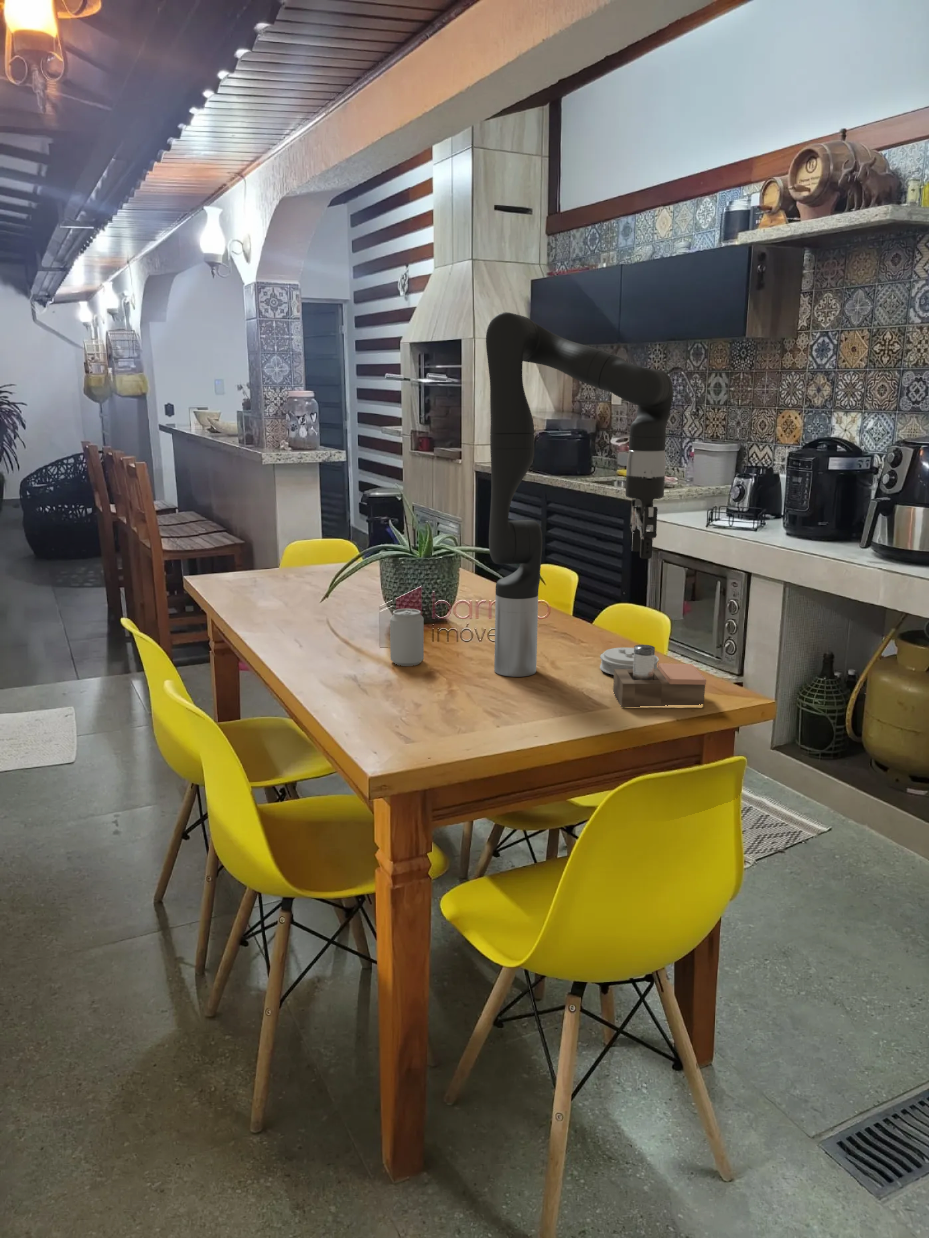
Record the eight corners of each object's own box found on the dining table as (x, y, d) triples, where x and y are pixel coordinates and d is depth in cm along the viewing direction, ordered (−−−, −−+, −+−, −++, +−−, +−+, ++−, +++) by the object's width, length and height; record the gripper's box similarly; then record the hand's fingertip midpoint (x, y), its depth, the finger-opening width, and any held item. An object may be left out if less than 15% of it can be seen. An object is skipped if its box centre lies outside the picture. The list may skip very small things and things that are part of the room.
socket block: (613, 692, 197) (614, 669, 196) (690, 692, 197) (692, 669, 196) (621, 708, 187) (622, 683, 186) (703, 708, 187) (705, 683, 186)
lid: (669, 673, 212) (670, 651, 210) (636, 685, 203) (637, 662, 202) (621, 661, 220) (622, 640, 219) (588, 672, 211) (588, 650, 210)
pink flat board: (657, 668, 196) (657, 663, 196) (691, 668, 196) (692, 663, 196) (669, 684, 185) (670, 679, 185) (705, 684, 186) (706, 679, 185)
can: (385, 665, 215) (384, 612, 212) (398, 656, 222) (398, 606, 219) (415, 668, 213) (415, 615, 210) (428, 660, 219) (428, 608, 217)
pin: (629, 697, 194) (632, 644, 191) (649, 697, 194) (652, 644, 191) (633, 703, 190) (636, 649, 187) (653, 703, 190) (656, 649, 188)
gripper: (620, 470, 196) (616, 549, 200) (633, 476, 182) (629, 560, 186) (656, 470, 196) (652, 549, 200) (672, 476, 183) (667, 561, 186)
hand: (641, 554), depth 193 cm, fingers open, 8 cm apart
